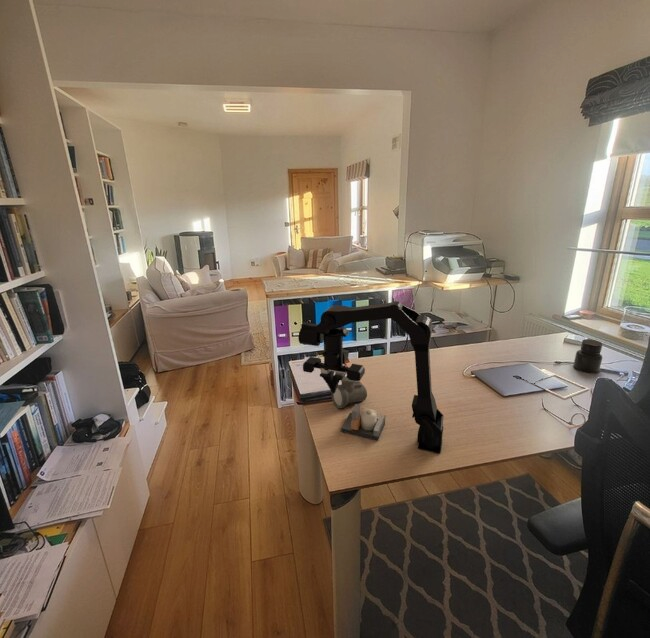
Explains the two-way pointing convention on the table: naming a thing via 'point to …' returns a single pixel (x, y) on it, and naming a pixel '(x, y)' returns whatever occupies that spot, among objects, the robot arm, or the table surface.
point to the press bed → (362, 432)
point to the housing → (368, 419)
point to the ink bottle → (589, 356)
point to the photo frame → (565, 380)
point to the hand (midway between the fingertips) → (333, 392)
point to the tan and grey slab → (356, 417)
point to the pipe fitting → (348, 393)
